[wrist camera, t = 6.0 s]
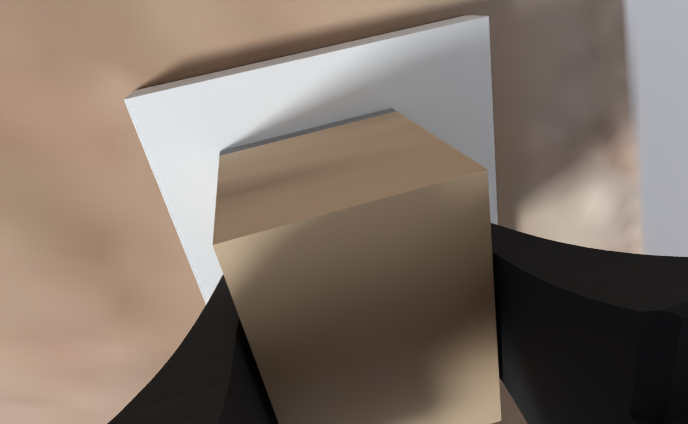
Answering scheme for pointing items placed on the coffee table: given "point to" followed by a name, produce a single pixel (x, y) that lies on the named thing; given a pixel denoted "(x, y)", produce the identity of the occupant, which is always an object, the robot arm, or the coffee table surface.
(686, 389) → the robot arm
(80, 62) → the coffee table surface
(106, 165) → the coffee table surface
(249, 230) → the block
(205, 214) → the board
